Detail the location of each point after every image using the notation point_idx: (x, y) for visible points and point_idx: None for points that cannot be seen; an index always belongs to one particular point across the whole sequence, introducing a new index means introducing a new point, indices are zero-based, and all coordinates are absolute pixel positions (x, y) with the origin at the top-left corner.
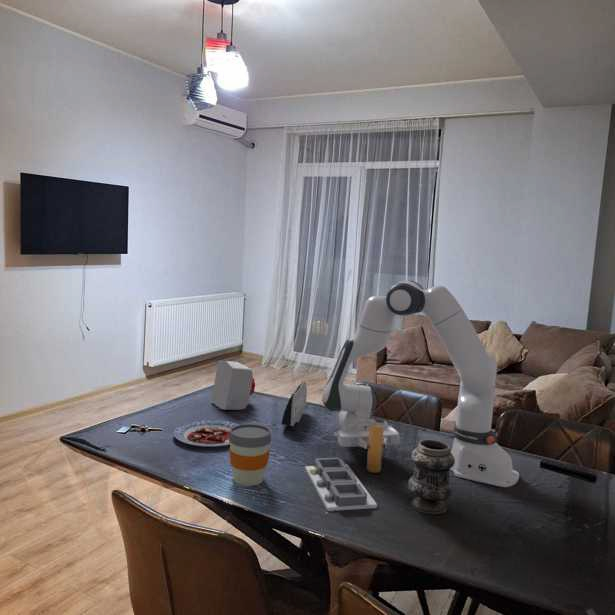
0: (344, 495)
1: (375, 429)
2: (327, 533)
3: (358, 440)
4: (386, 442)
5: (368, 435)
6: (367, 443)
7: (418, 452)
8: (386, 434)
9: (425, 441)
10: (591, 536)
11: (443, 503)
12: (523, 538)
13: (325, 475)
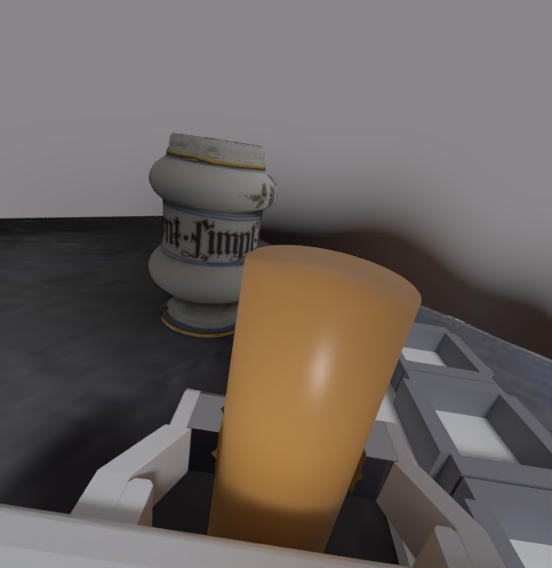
0: (434, 331)
1: (355, 260)
2: (443, 316)
3: (485, 552)
4: (188, 391)
5: (354, 566)
6: (377, 420)
7: (266, 172)
8: (11, 523)
9: (219, 146)
10: (30, 223)
11: (172, 298)
12: (135, 244)
13: (548, 438)
